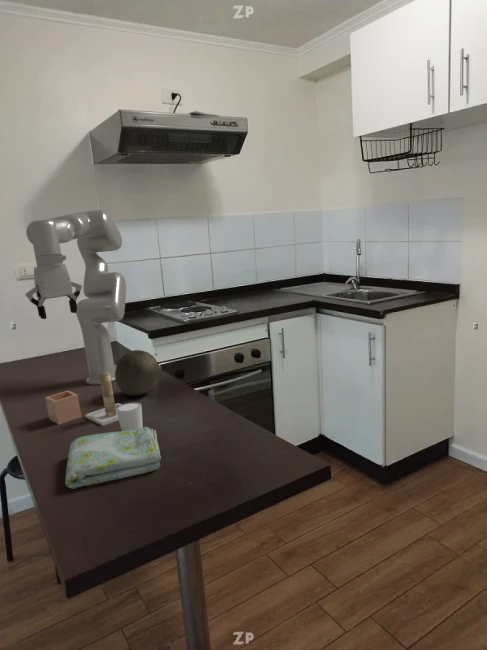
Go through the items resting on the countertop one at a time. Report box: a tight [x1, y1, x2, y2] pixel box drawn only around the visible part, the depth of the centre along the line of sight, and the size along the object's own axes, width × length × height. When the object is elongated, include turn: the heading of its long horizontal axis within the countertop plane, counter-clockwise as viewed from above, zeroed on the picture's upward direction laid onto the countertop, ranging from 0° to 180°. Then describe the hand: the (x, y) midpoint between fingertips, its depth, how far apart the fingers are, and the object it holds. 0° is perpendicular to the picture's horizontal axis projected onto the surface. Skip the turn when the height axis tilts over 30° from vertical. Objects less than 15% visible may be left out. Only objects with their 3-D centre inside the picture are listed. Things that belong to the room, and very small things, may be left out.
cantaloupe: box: [115, 349, 160, 397], centre depth 161 cm, size 14×14×15 cm
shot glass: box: [116, 402, 143, 431], centre depth 131 cm, size 7×7×7 cm
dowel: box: [99, 372, 116, 417], centre depth 142 cm, size 3×3×13 cm
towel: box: [64, 426, 162, 490], centre depth 113 cm, size 18×21×5 cm
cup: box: [44, 390, 83, 425], centre depth 145 cm, size 7×7×8 cm
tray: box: [85, 402, 123, 427], centre depth 143 cm, size 11×11×2 cm
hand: (59, 315), depth 151 cm, fingers open, 9 cm apart
